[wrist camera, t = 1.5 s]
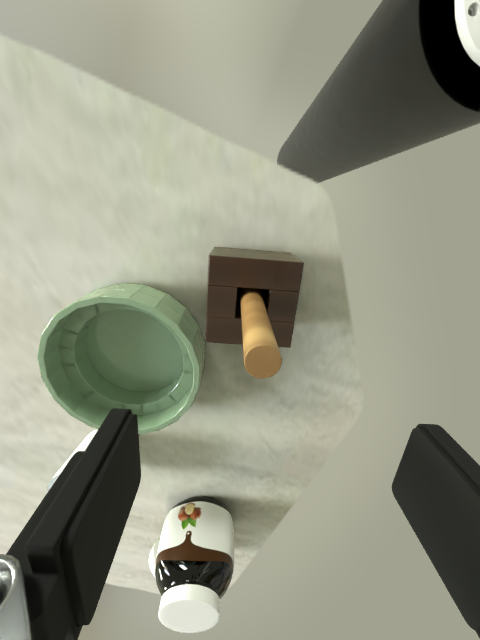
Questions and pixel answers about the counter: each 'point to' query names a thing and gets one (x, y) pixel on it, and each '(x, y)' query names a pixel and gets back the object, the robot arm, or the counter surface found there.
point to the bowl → (123, 356)
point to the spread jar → (193, 564)
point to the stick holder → (251, 272)
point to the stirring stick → (258, 336)
